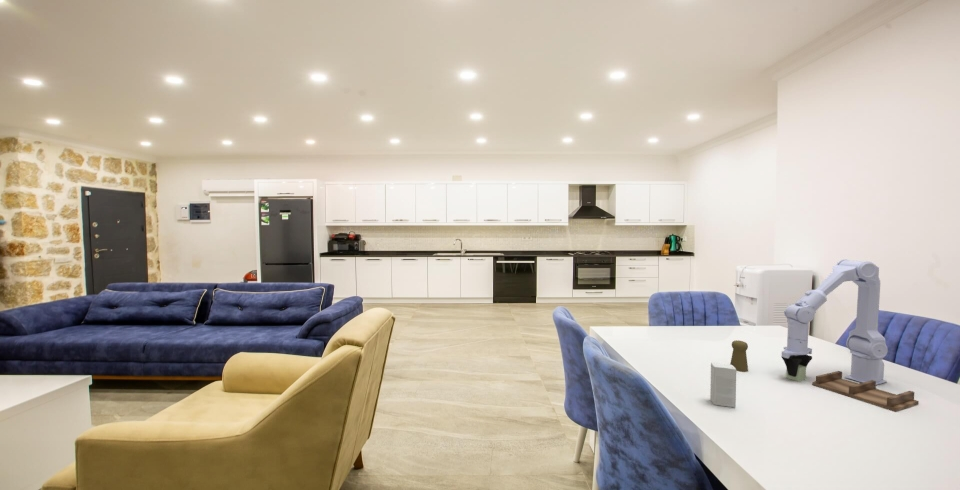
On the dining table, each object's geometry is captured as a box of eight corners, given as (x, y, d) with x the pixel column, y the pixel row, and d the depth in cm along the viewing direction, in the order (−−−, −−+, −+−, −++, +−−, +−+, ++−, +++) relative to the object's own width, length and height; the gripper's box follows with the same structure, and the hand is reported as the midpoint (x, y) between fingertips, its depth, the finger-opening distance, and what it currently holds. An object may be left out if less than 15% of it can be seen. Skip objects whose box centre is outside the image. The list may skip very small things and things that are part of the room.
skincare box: (731, 402, 118) (732, 364, 118) (735, 408, 114) (737, 369, 114) (709, 399, 120) (710, 362, 120) (712, 405, 116) (714, 366, 116)
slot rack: (834, 379, 137) (835, 369, 137) (918, 404, 118) (919, 393, 118) (812, 384, 132) (812, 375, 132) (895, 411, 113) (896, 400, 113)
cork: (751, 372, 143) (752, 344, 143) (733, 371, 144) (734, 342, 144) (743, 366, 149) (744, 339, 149) (726, 365, 150) (727, 338, 150)
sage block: (792, 376, 140) (793, 362, 140) (805, 380, 137) (806, 366, 136) (786, 377, 139) (786, 364, 139) (798, 381, 135) (799, 367, 135)
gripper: (797, 333, 143) (795, 368, 144) (772, 337, 138) (771, 373, 139) (819, 338, 137) (817, 375, 137) (795, 342, 131) (793, 380, 132)
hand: (795, 374), depth 138 cm, fingers closed on sage block, 4 cm apart
